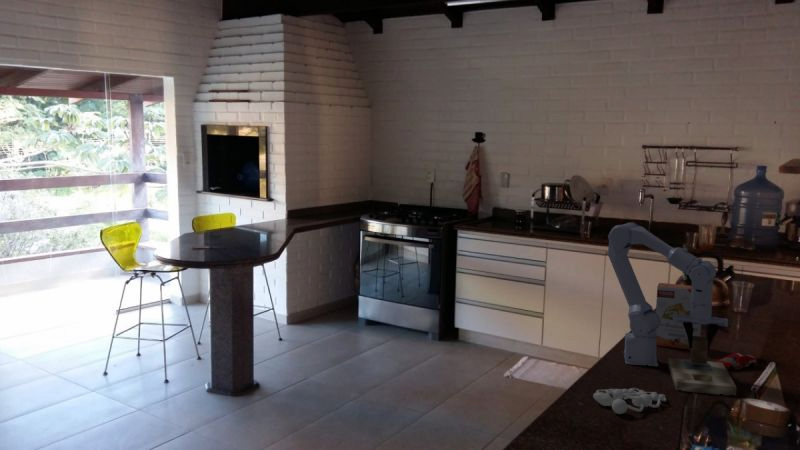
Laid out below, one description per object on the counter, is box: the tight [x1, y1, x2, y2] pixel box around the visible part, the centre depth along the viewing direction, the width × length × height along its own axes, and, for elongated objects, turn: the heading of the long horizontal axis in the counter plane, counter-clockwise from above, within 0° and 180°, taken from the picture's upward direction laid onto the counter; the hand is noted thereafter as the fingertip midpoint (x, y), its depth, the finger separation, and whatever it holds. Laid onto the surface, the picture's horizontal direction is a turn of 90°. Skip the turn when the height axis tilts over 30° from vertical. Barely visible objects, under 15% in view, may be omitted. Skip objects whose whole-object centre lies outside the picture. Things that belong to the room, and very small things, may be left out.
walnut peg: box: [689, 335, 708, 364], centre depth 187 cm, size 4×4×7 cm
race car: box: [715, 352, 758, 372], centre depth 194 cm, size 13×5×4 cm, turn 105°
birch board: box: [667, 357, 738, 397], centre depth 184 cm, size 15×20×3 cm
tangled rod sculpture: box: [592, 387, 667, 415], centre depth 168 cm, size 19×14×4 cm
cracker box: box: [655, 282, 702, 351], centre depth 213 cm, size 14×6×21 cm, turn 62°
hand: (698, 348), depth 188 cm, fingers closed on walnut peg, 4 cm apart
